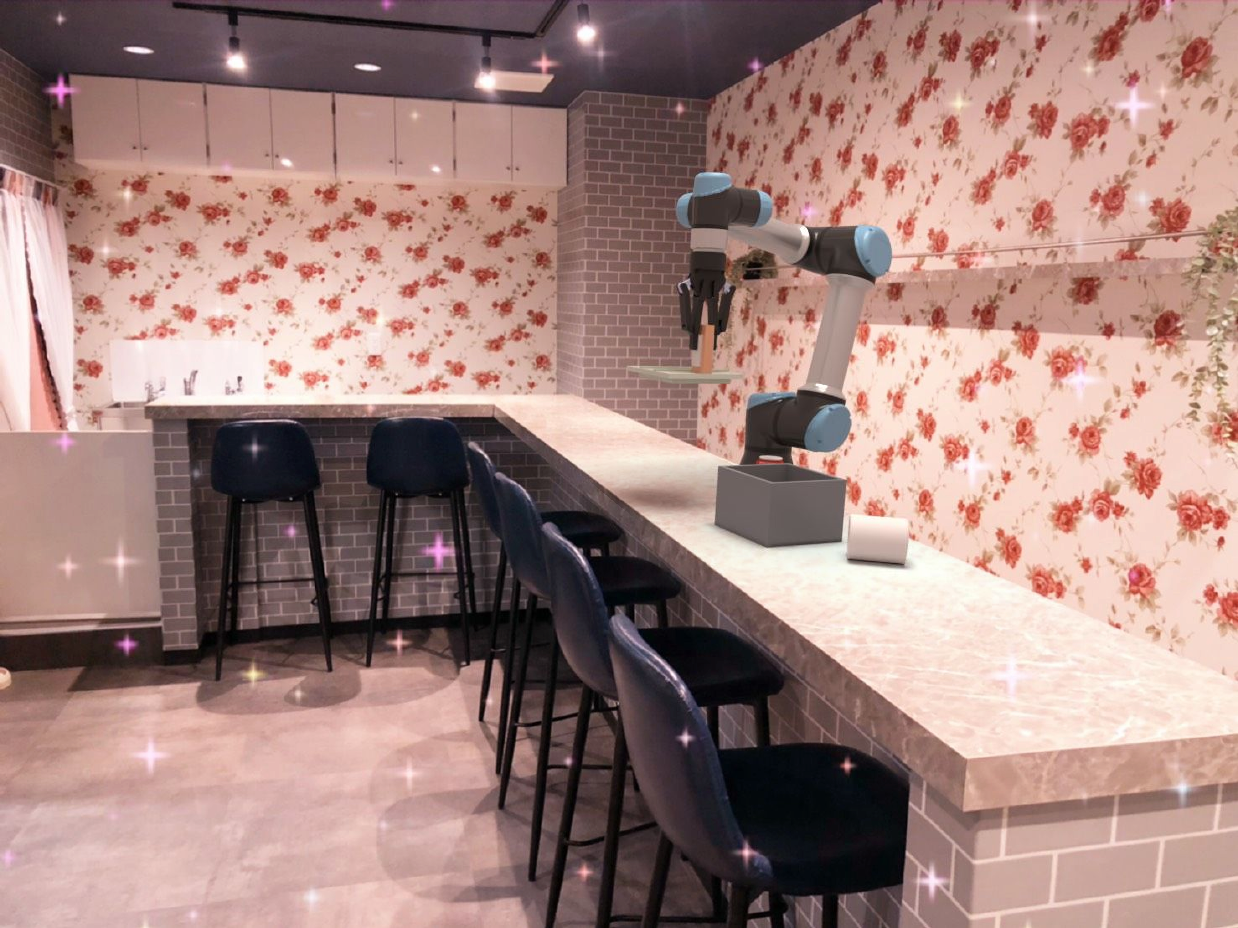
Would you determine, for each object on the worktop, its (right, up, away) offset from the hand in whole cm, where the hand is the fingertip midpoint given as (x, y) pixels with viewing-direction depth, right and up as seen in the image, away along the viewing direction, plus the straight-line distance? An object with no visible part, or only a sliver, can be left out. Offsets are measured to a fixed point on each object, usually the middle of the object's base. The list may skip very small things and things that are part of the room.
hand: (701, 366), depth 206 cm
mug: (+29, -38, -28) cm, 55 cm away
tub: (+14, -34, -12) cm, 39 cm away
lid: (-3, -2, +7) cm, 8 cm away
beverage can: (+15, -31, +7) cm, 35 cm away
